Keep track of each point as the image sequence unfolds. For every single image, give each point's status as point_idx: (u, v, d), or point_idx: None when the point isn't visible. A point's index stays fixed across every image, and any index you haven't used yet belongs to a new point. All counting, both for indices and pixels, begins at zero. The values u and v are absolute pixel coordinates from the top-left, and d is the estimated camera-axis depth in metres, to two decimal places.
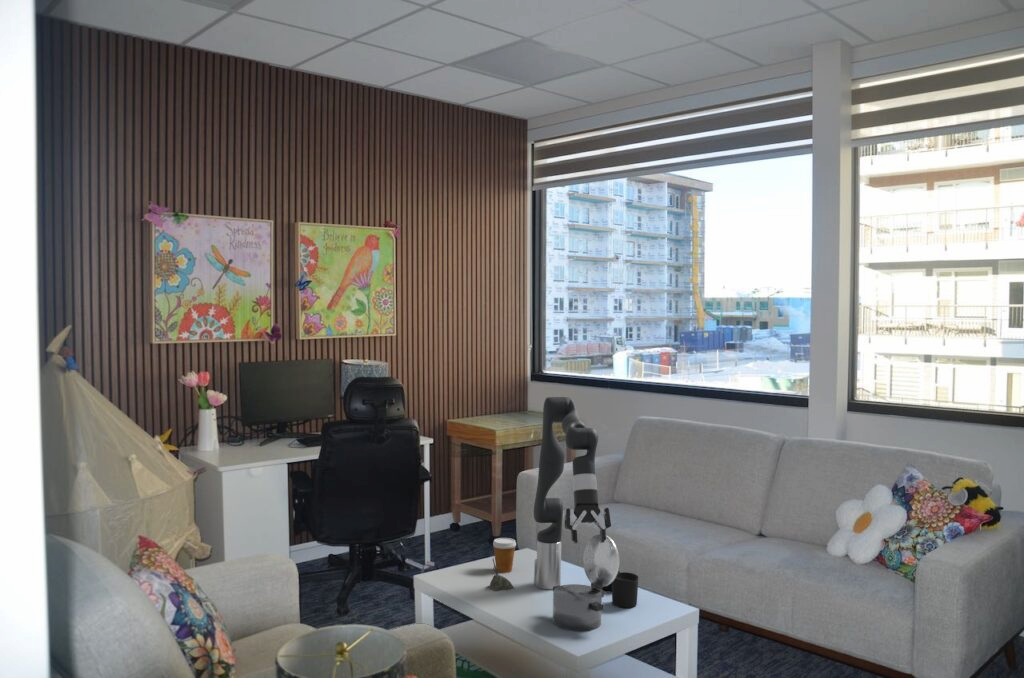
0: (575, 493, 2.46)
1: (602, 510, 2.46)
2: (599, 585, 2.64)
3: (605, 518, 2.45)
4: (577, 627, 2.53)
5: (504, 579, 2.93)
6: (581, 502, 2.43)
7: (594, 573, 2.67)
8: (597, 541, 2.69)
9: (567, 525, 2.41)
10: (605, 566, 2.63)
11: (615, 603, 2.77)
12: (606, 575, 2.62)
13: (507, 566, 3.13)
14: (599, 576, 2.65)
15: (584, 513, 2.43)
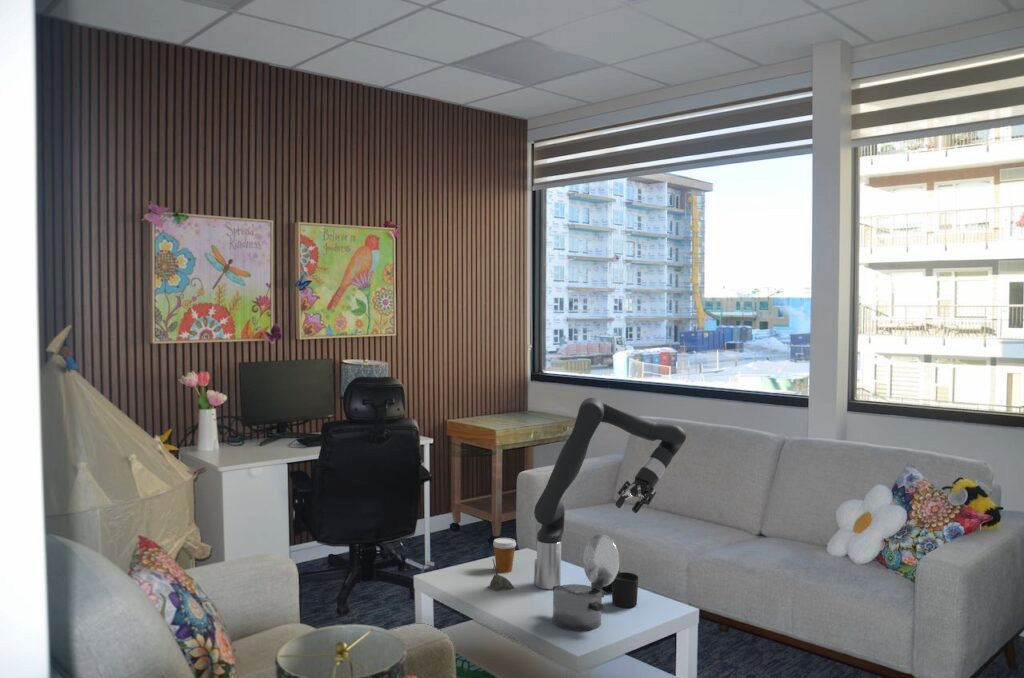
0: (657, 479, 2.76)
1: None
2: (599, 585, 2.64)
3: (625, 490, 2.80)
4: (577, 627, 2.53)
5: (504, 579, 2.93)
6: None
7: (594, 573, 2.67)
8: (597, 541, 2.69)
9: None
10: (605, 566, 2.63)
11: (615, 603, 2.77)
12: (606, 575, 2.62)
13: (507, 566, 3.13)
14: (599, 576, 2.65)
15: None
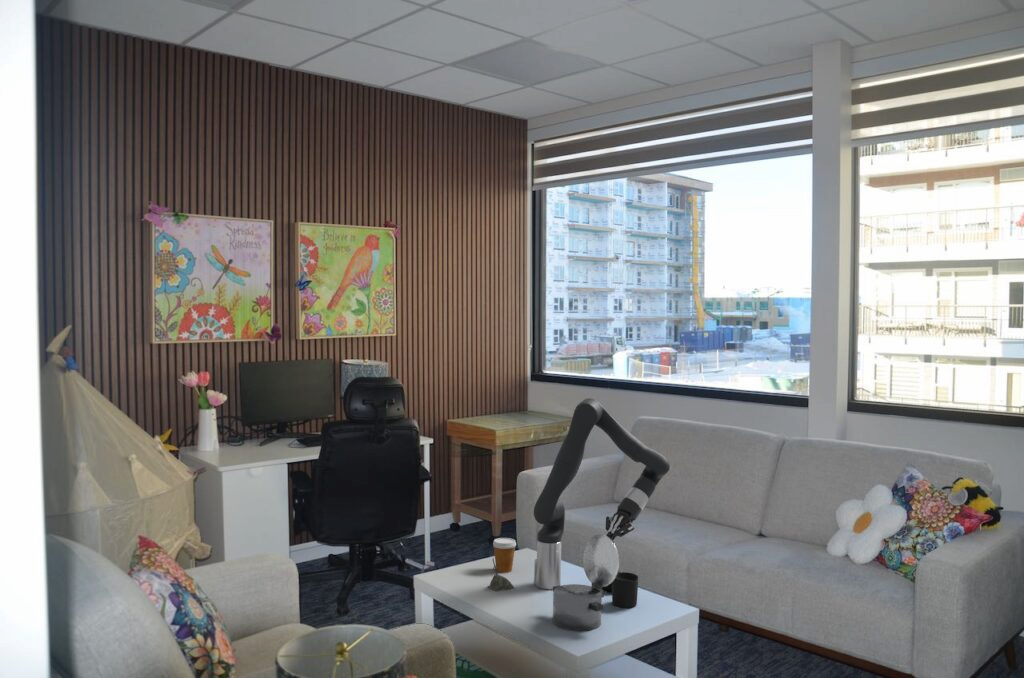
0: (639, 510, 2.72)
1: None
2: (599, 585, 2.64)
3: (610, 525, 2.74)
4: (577, 627, 2.53)
5: (504, 579, 2.93)
6: None
7: (594, 573, 2.67)
8: (596, 541, 2.69)
9: None
10: (605, 566, 2.63)
11: (615, 603, 2.77)
12: (606, 575, 2.62)
13: (507, 566, 3.13)
14: (599, 576, 2.65)
15: None
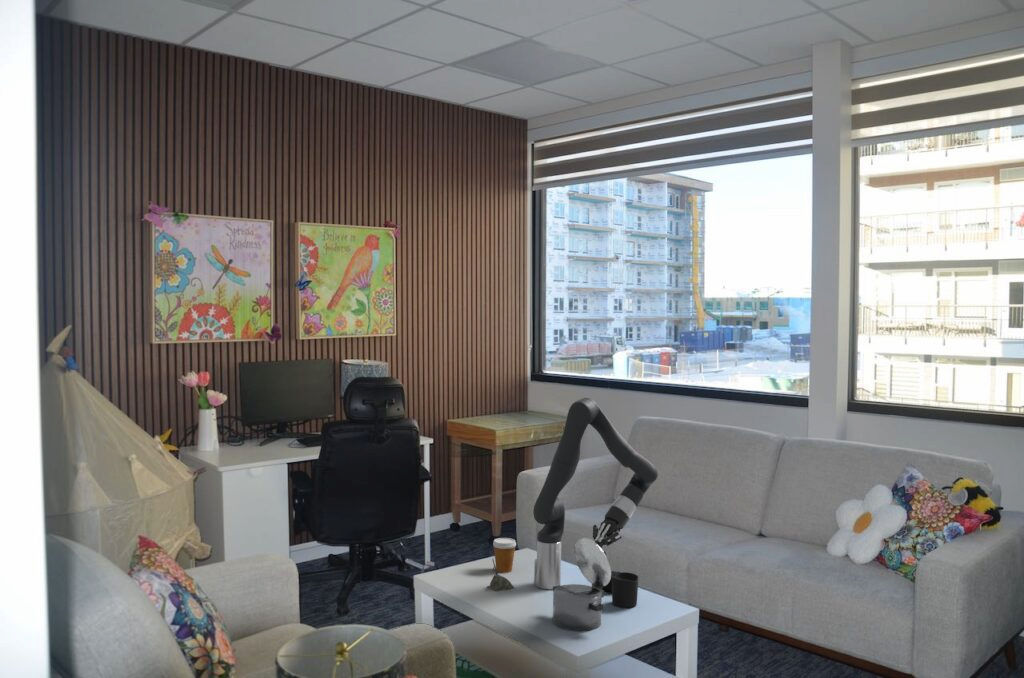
0: (627, 518, 2.68)
1: None
2: (598, 586, 2.64)
3: (597, 533, 2.70)
4: (577, 627, 2.53)
5: (504, 579, 2.93)
6: (622, 528, 2.69)
7: (590, 575, 2.66)
8: (583, 545, 2.65)
9: None
10: (598, 569, 2.62)
11: (615, 603, 2.77)
12: (601, 577, 2.61)
13: (507, 566, 3.13)
14: (596, 578, 2.64)
15: None
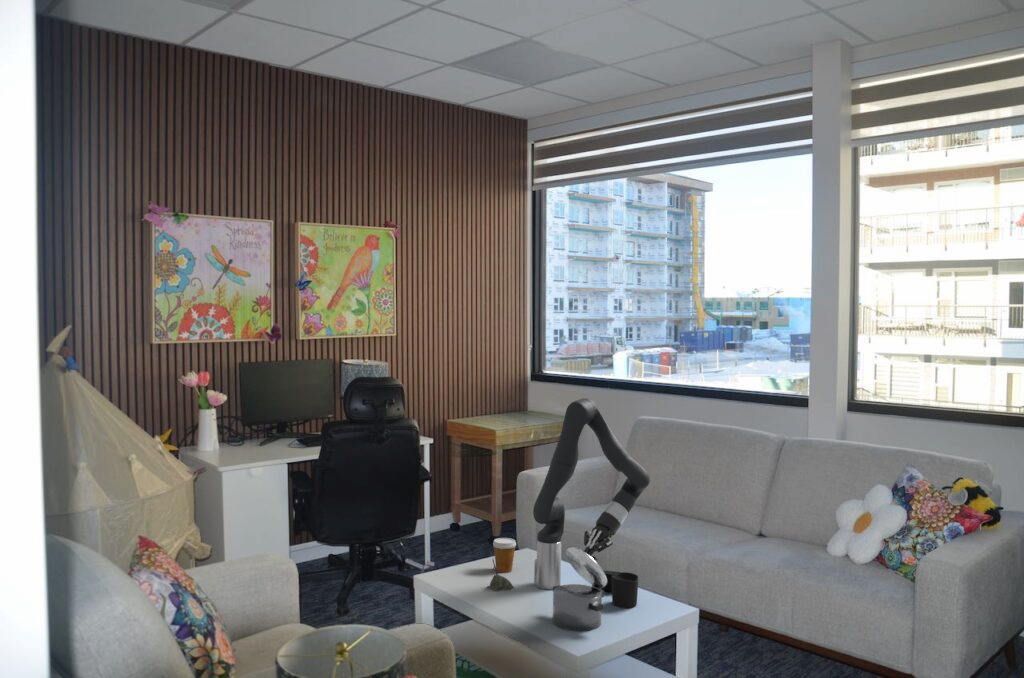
0: (618, 525, 2.66)
1: None
2: (598, 587, 2.64)
3: (589, 539, 2.68)
4: (577, 627, 2.53)
5: (504, 579, 2.93)
6: (614, 534, 2.67)
7: (588, 577, 2.66)
8: (573, 553, 2.63)
9: None
10: (593, 573, 2.60)
11: (615, 603, 2.77)
12: (598, 580, 2.60)
13: (507, 566, 3.13)
14: (594, 580, 2.63)
15: None
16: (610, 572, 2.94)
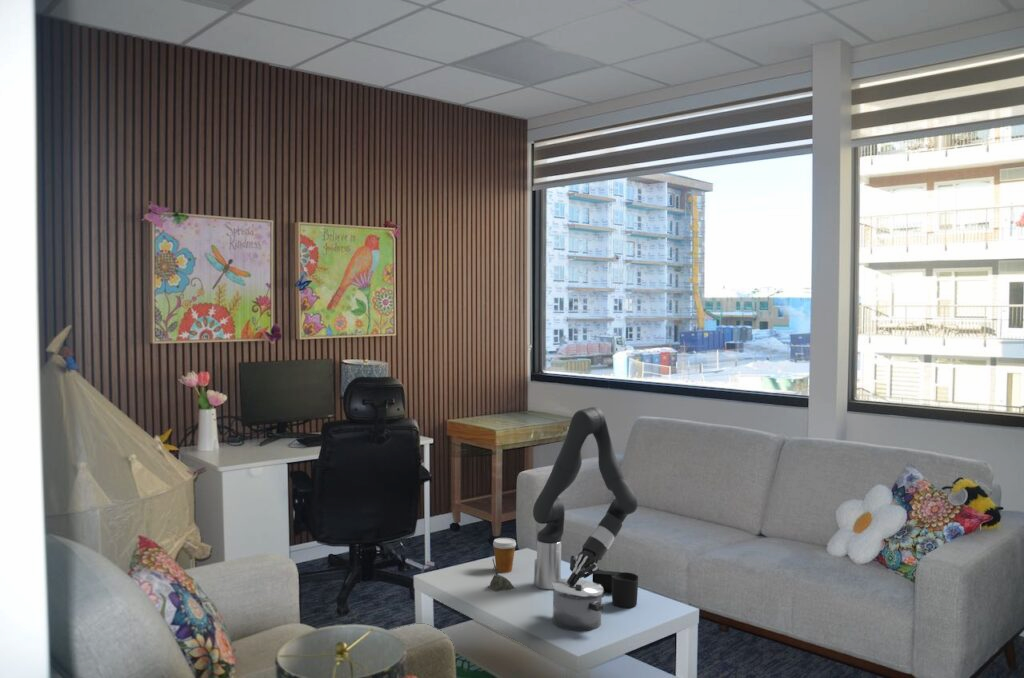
0: (605, 550, 2.63)
1: None
2: None
3: (575, 564, 2.65)
4: (577, 627, 2.53)
5: (504, 579, 2.93)
6: (600, 559, 2.64)
7: None
8: None
9: None
10: None
11: (615, 603, 2.77)
12: None
13: (507, 566, 3.13)
14: None
15: None
16: (610, 572, 2.94)
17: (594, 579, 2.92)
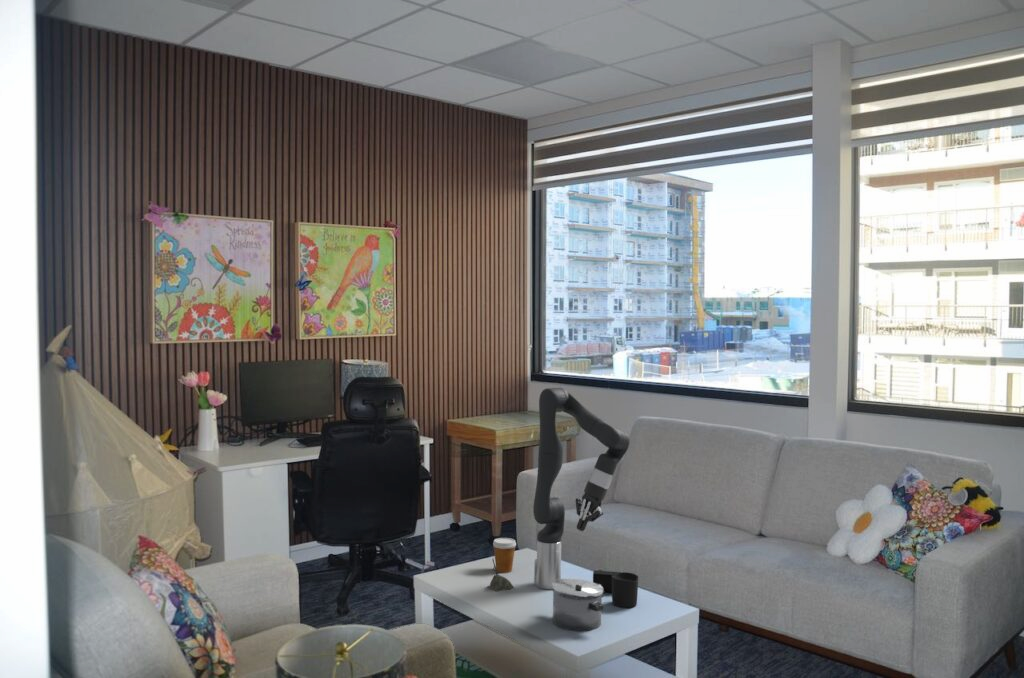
0: (606, 491, 2.72)
1: None
2: None
3: (581, 507, 2.77)
4: (577, 627, 2.53)
5: (504, 579, 2.93)
6: None
7: None
8: None
9: None
10: None
11: (615, 603, 2.77)
12: None
13: (507, 566, 3.13)
14: None
15: None
16: (611, 572, 2.93)
17: (594, 579, 2.92)
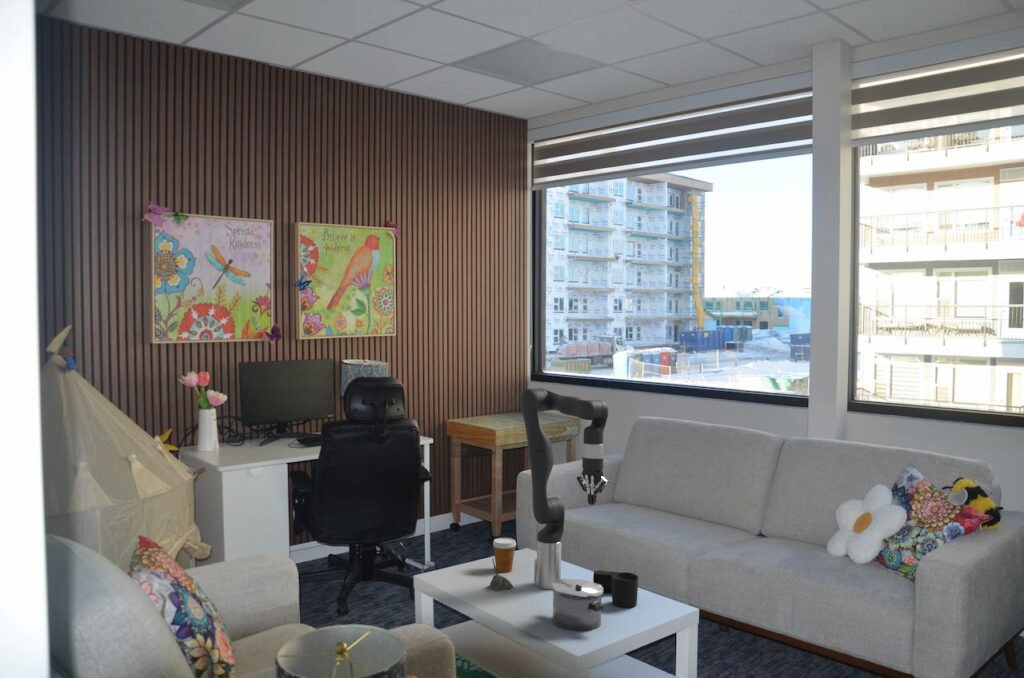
0: (602, 460, 2.79)
1: None
2: None
3: (584, 483, 2.83)
4: (577, 627, 2.53)
5: (504, 579, 2.93)
6: None
7: None
8: None
9: None
10: None
11: (615, 603, 2.77)
12: None
13: (507, 566, 3.13)
14: None
15: None
16: (611, 573, 2.93)
17: (595, 580, 2.92)
